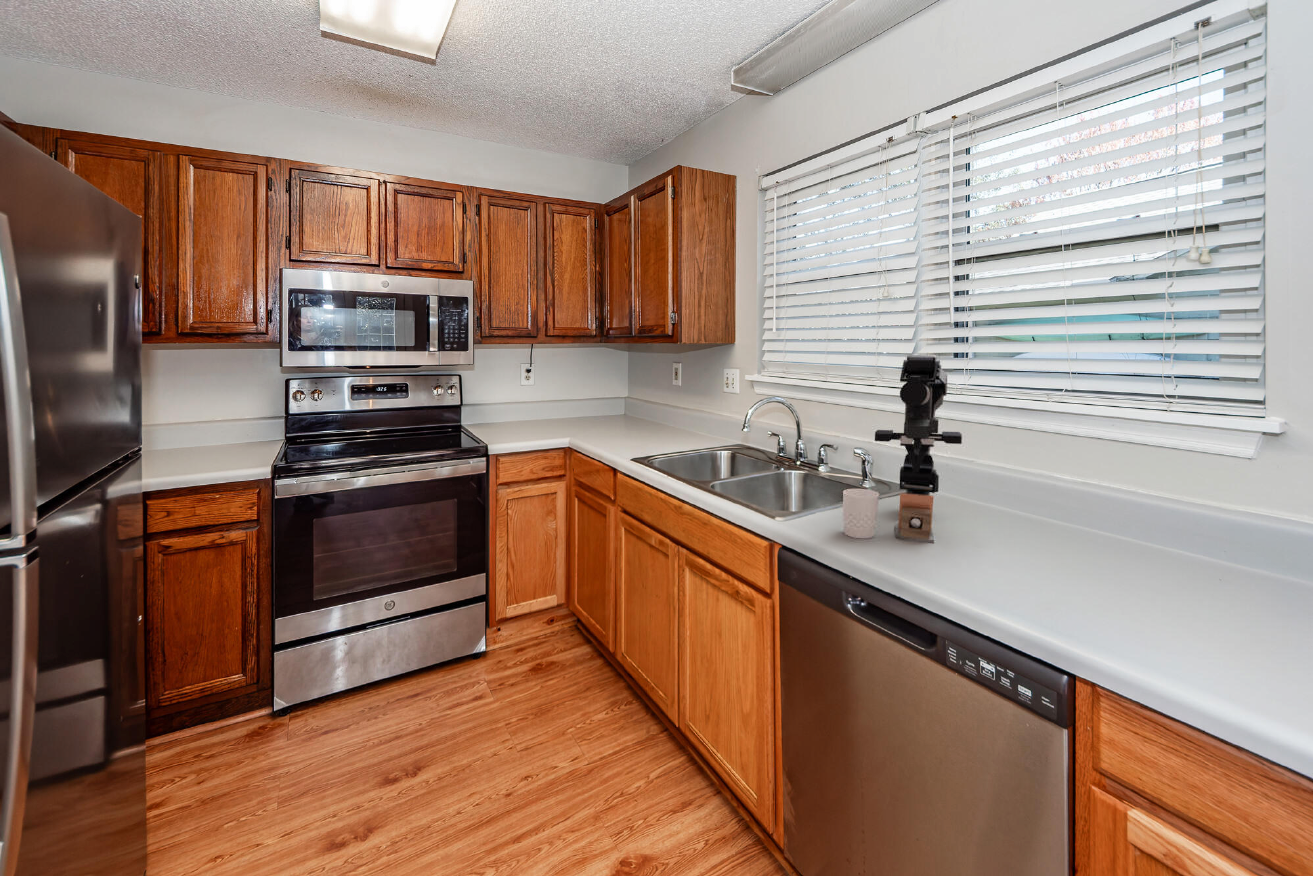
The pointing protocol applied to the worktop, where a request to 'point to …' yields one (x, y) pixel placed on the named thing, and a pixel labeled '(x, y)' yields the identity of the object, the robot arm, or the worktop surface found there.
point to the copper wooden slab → (915, 506)
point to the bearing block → (915, 532)
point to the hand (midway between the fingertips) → (915, 472)
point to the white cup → (860, 512)
